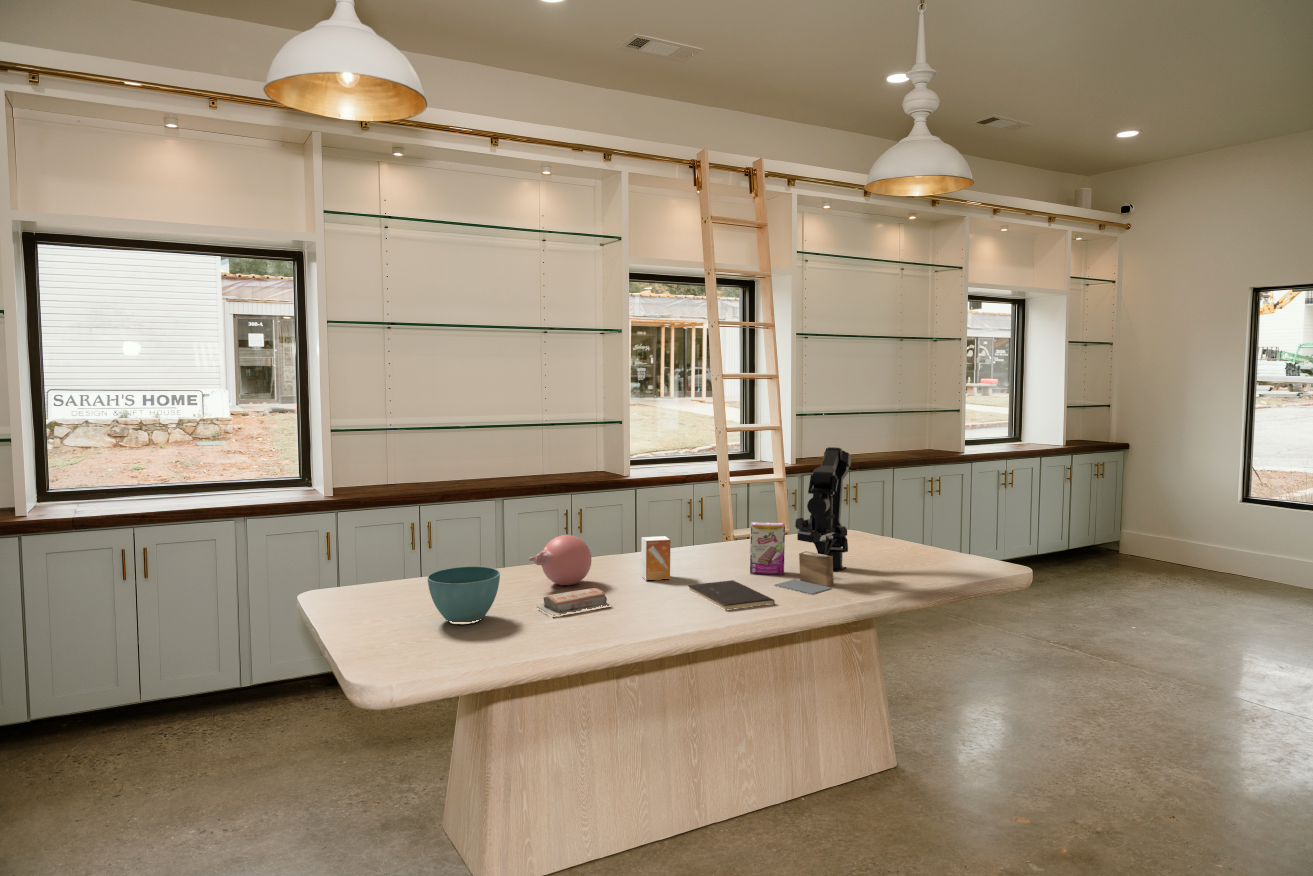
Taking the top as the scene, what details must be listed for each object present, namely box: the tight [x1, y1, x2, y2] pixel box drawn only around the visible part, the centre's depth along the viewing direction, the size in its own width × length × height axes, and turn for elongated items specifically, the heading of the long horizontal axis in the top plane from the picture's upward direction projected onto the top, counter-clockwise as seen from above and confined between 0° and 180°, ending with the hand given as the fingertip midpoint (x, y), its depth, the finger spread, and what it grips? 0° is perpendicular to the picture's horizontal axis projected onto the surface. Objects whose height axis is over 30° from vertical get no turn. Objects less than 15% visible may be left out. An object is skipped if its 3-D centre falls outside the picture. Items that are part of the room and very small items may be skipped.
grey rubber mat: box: [773, 579, 833, 595], centre depth 236 cm, size 10×14×1 cm
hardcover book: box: [687, 579, 775, 610], centre depth 224 cm, size 16×23×2 cm
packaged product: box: [536, 587, 611, 616], centre depth 213 cm, size 18×5×10 cm
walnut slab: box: [798, 550, 834, 587], centre depth 240 cm, size 4×10×9 cm, turn 42°
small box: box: [640, 535, 671, 581], centre depth 246 cm, size 8×6×13 cm
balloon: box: [528, 534, 592, 586], centre depth 237 cm, size 15×20×15 cm
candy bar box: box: [749, 521, 786, 576], centre depth 253 cm, size 11×5×16 cm, turn 84°
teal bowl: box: [427, 565, 501, 622], centre depth 201 cm, size 18×18×12 cm
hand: (822, 560), depth 242 cm, fingers closed
